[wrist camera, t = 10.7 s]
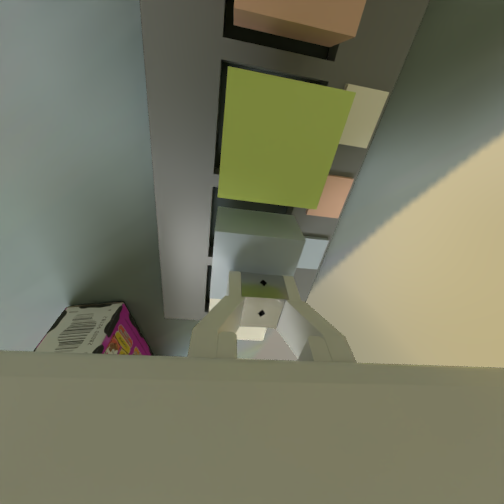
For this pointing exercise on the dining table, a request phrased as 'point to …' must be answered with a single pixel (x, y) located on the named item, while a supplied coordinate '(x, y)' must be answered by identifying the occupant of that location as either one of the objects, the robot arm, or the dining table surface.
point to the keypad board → (206, 124)
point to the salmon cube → (302, 18)
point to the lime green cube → (279, 138)
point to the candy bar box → (95, 331)
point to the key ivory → (244, 328)
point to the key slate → (253, 245)
